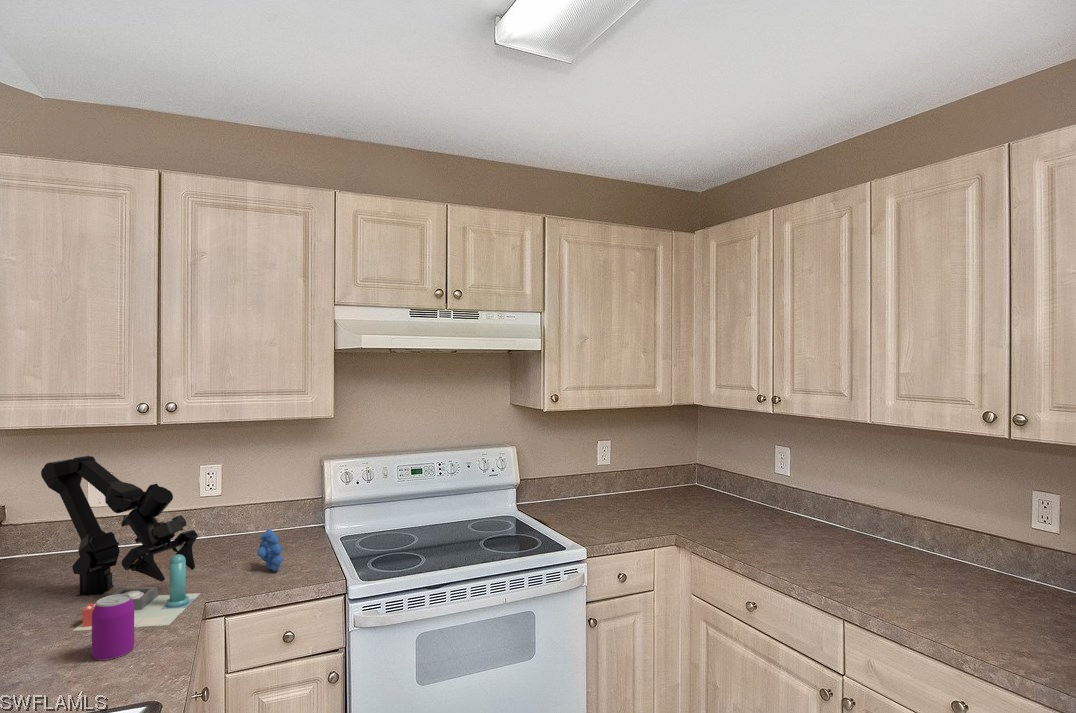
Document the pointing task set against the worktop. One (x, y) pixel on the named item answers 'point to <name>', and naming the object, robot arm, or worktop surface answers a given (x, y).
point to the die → (88, 615)
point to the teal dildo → (177, 582)
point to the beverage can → (112, 627)
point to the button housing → (145, 599)
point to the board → (154, 613)
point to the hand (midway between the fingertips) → (178, 574)
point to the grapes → (270, 550)
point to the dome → (134, 594)
